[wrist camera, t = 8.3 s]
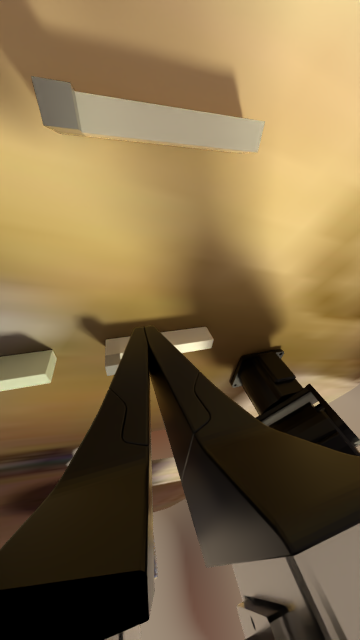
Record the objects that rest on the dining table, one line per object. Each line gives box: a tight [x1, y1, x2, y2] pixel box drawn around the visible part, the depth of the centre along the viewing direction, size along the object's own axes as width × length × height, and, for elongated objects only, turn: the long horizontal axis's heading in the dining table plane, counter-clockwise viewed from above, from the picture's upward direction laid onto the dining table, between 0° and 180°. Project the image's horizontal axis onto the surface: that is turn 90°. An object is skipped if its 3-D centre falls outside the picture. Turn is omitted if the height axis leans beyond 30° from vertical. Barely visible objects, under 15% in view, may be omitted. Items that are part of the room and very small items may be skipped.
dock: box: [31, 76, 265, 376], centre depth 14 cm, size 16×10×3 cm, turn 176°
